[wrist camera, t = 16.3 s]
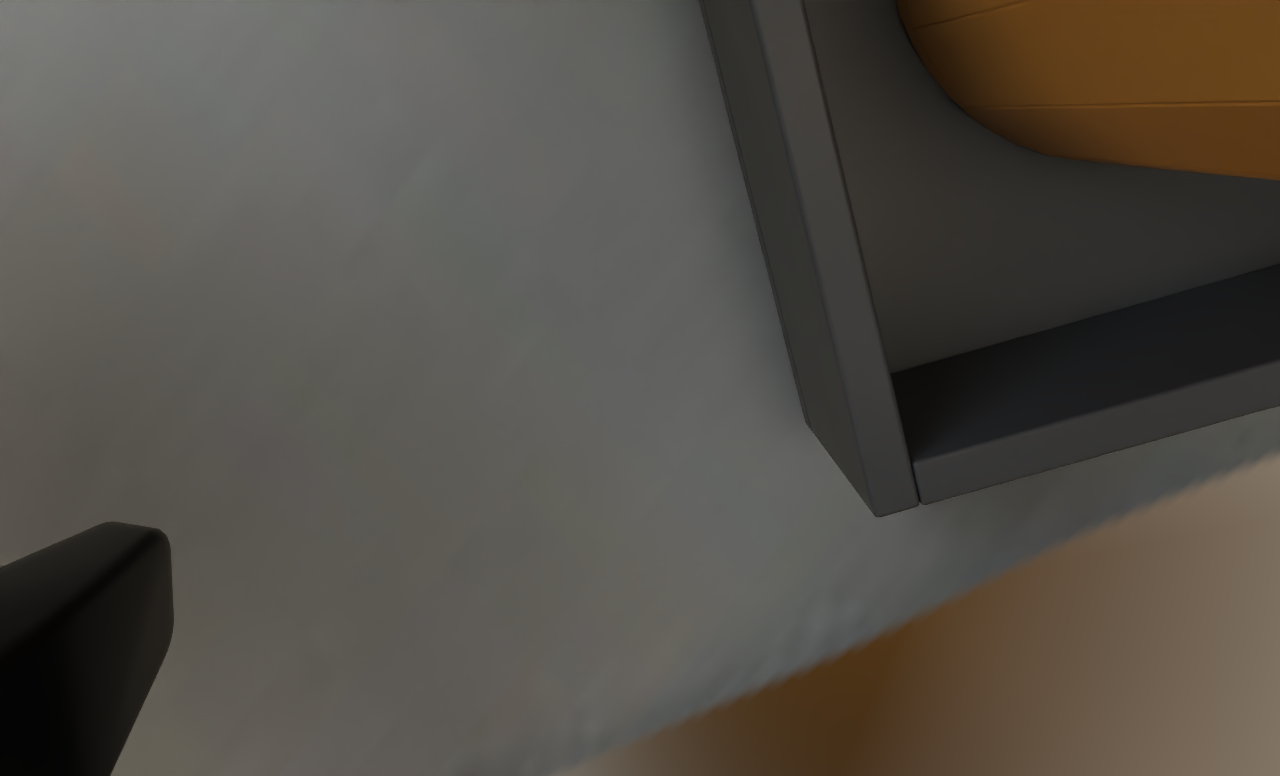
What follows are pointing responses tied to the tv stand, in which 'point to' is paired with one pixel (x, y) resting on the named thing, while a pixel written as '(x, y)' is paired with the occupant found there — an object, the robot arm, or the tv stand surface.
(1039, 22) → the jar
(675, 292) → the tv stand surface
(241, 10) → the tv stand surface
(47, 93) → the tv stand surface
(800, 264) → the dark grey square tray
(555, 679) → the tv stand surface
